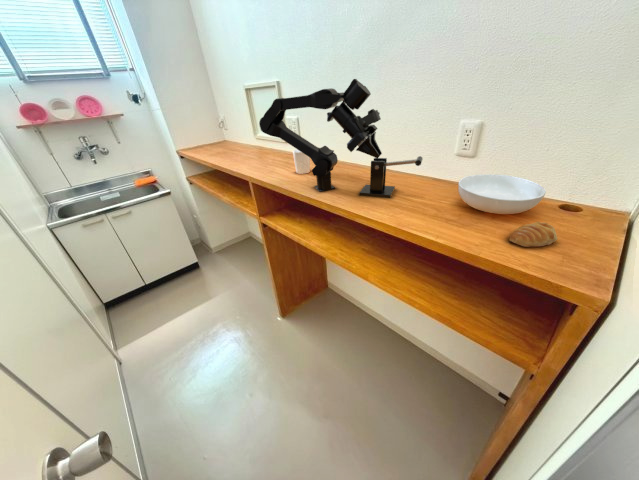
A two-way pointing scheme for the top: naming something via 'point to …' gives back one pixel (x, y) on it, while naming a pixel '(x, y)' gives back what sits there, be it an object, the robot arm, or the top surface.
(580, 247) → the top surface
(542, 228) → the pastry
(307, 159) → the white cup
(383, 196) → the bracket
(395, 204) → the top surface
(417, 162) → the lever
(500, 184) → the serving bowl
